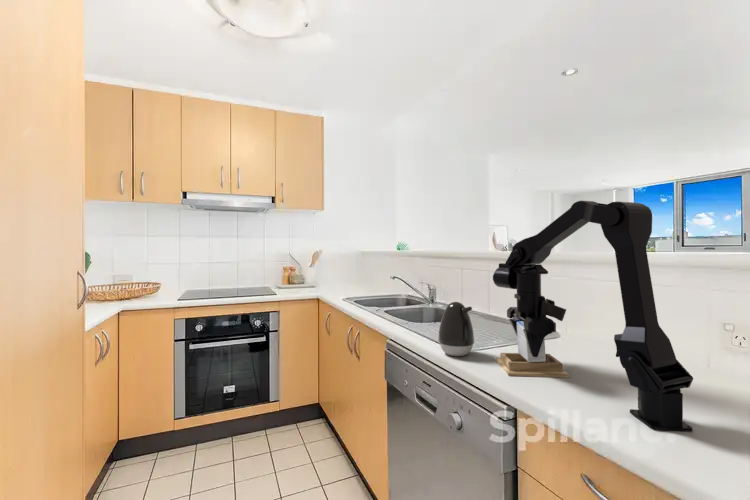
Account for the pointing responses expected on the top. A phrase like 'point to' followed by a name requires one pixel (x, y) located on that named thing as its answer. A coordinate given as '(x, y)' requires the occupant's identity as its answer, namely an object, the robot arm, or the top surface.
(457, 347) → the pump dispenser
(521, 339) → the medicine box
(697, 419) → the top surface
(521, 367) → the box
